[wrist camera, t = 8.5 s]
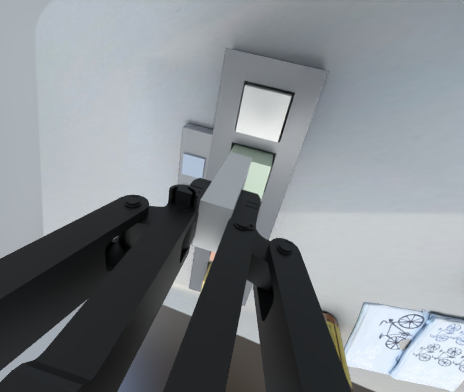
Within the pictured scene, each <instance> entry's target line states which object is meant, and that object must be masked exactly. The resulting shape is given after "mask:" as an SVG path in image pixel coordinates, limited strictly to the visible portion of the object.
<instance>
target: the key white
mask: <svg viewBox="0 0 464 392" xmlns="http://www.w3.org/2000/svg"><path fill="white" fill-rule="evenodd" d="M290 100H291V92H289V91H285V90H281V89H276V88H272V87H268V86H264V85H259V84H255V83H251V82H250V83H249V84H247V85H245V88H244V92H243V97H242V102H241V107H240V112H239V117H238V122H237V127H236V132H239V133H243V134H247V135H251V136H254V137H258V138H262V139H266V140H270V141H274V142H278V139H279V136H280V133H281V129H282V126H283V123H284V119H285V116H286V113H287V110H288V106H289V103H290Z"/></svg>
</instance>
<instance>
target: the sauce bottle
mask: <svg viewBox="0 0 464 392" xmlns="http://www.w3.org/2000/svg"><path fill="white" fill-rule="evenodd" d="M322 313H323V312H322ZM323 315H324V318H325V321H326V323H327V326H328V329H329V332H330V334H331V337H332V340H333V342H334V345H335V348H336V350H337V353H338V356H339V358H340V361H341V364H342V367H343V369H344V372H345V375H346V377H347V380H348V383H349V385H350V388H351V391H352V392H353V389H352V384H351V380H350V375H349V370H348V366H347V361H346V357H345V352H344V348H343V343H342V338H341V334H340V329H339V327H338V323H337V321H336V320H335V319H334V318H333V317H332V316H331V315H329V314H327V313H323Z"/></svg>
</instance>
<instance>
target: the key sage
mask: <svg viewBox="0 0 464 392" xmlns="http://www.w3.org/2000/svg"><path fill="white" fill-rule="evenodd" d="M230 152H233V153H237V154H240V155H244V156H247V157H251V158H252V161H251V164H250V168H249V172H248V175H247V179H246V182H245V186H244V189H243V190H246V191H249V192H252V193H256V194H258V195H259V197H260V199H262V196H263V193H264V189H265V186H266V183H267V179H268V176H269V173H270V169H271V166H272V160H273V154H272V153H268V152H264V151H260V150H257V149H253V148H249V147H245V146H241V145H237V144H235V145H234V146H233V148H232V149H231V151H230ZM230 152H229V154H230ZM229 154H228V155H229ZM227 157H228V156H227Z"/></svg>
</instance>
